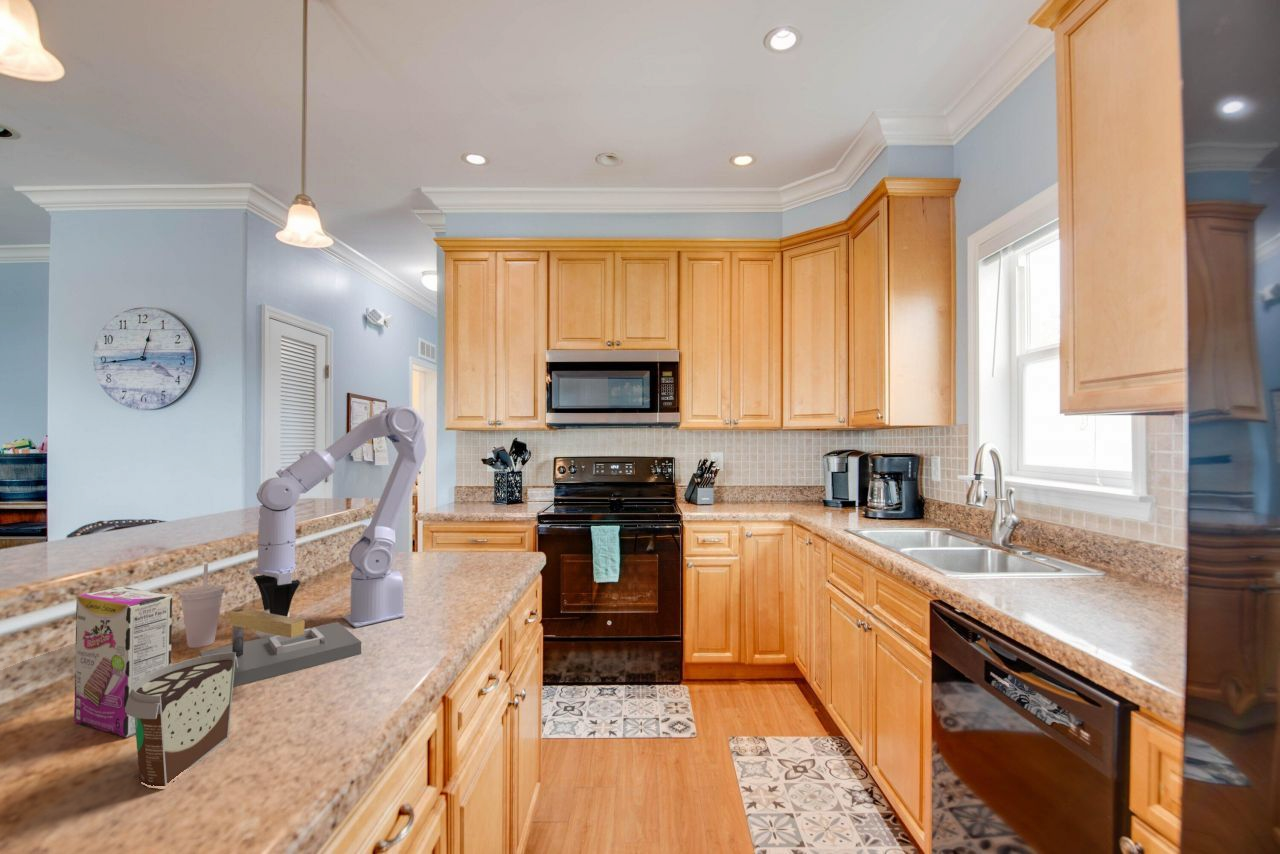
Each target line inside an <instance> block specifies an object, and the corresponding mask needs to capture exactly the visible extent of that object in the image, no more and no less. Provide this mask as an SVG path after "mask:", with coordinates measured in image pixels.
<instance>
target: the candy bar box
mask: <svg viewBox="0 0 1280 854" xmlns="http://www.w3.org/2000/svg"><path fill="white" fill-rule="evenodd" d="M75 598H76V608H75V610H76V613H75V615H76V616H75V666H74V668H75V669H74V672H75V673H74V675H75V677H74V679H75V680H74V708H73V709H74V710H73V711H74V712H73V722H74V723H77V724H80V725H84V726H87V727H90V728H93V729H97V730H100V731H102V732H103V731H104V732H107V733H109V734H113V735H117V736H120V737H123V738H130V737H133V736H136V730H135V718H134V717H132V716H130V715H128V714H127V713H126V712H125V707H126V704H127V700H128V697H129V694H130V692H131V690H132V689H133V687H134V685H135V683H136V682H137V681H138V680H140V679H141V678H143V677H144V676H146V675H148V674H150V673H152V672H154V671H156V670H158V669H161V668H163V667H166V666H169V665H172V629H173V628H172V627H173V625H172V624H173V623H172V622H173V620H172V618H173V594H168V593H164V592H157V591H151V590H150V591H149V590H143V589H138V588H134V587H133V588H131V587H125V586H117V587H113V588H111V587H110V588H108V589H101V590H97V591H94V592H86V593H84V594H80V595H76V597H75Z"/></svg>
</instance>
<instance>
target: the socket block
mask: <svg viewBox="0 0 1280 854" xmlns="http://www.w3.org/2000/svg"><path fill="white" fill-rule="evenodd" d="M220 653H232V644H229V645H224V646H221V647H220V646H219V647H214V648H211V649H207V650H205V649H204V650H201V651H200V654H199V657H202V656H207V655H213V654H220ZM361 654H362V641H361V640H360V639H359V638H357V636H356V635H354V634H353V633H351V632H350V631H349V630H348V629H347V628H346V627H345V626H344V625H342V624H341V623H340V622H339V621H336V622H330V623H327V624H321V625H317V626H313V627H308V628H304V634H301V635H298V636H295V637H293V638H289V637H284V636H279V635H275V636H270V637H265V638H261V639H260V638H256V639H252V640H247V641H243V655H241V656H237V661H238V668H235V670H234V681H233V688H234V687H240V686H243V685H247V684H250V683H254V682H258V681H259V682H260V681H262V680H266V679H270V678H274V677H277V676H280V675H285V674H289V673H292V672H296V671H300V670H303V669H304V670H305V669H308V668H312V667H316V666H320V665H324V664H327V663H330V662H335V661H338V660H342V659H346V658H349V657H354V656H358V655H361Z"/></svg>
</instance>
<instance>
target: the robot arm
mask: <svg viewBox="0 0 1280 854" xmlns="http://www.w3.org/2000/svg"><path fill="white" fill-rule="evenodd" d="M424 426H425V421H424V420H423V418H422V417H421V416H420V414H419V412H418V411H417V409H415V408H414V407H411V406H409V405H406V404H405V405H404V404H403V405H397V406H396V407H395V406H394V407H387V408H385V409H383V410H381V411H380V412H379V413H376V414H373V415H371V416H370V417H368V418H366V419H365V420H364V421H362V422H360V423H359V424H358V425H356V426H355V427H353V428H352V429H351V430H349V431H348V432H347V433H345V434H344V435H343V436H341V437H340V438H339V439H338V440H336V441H335V442H334V443H331V445H330V446H328V447H327V448H326V449H324V450H319V449H312V450H311V451H309V452H308V451H303V452H301V453H300V454H299V457H300V458H299V459H297V460H296V461H294V462H293V463H292V464H290V465H289V466H287V467H286V468H284V469H282V468H281V469H278V470H277V471H276V472H275V474H276V475H277V477H271V478H268V479H265V481H263V483H261V484H260V485H259V488H258V490H257V492H256V498H257V500H258V502H259V503H260V508H259V511H258V512H259V513H258V514H259V518H258V526H257V528H258V530H257V531H258V533H257V567H254V568H250V569H249V575H255V576H253V580H254V582H255V583H256V584H257V587H258V590H259V592H260V597H261V601H262V607H263V611H264V610H267V609H269V610H270V613H271V614H276V615H281V616H286V617H287V616H288V613H289V614H290V610H289V609H290V608H291V605H292V600H293V597H294V595H295V593H296V591H297V589H298V588H299V586H300V584H301V580H299V579H294V580H292V579H293V577H292V575H293V573H294V572H295V571H296V570H297V563H296V539H297V538H296V536H297V535H296V527H297V526H296V525H297V517H296V504H297V503H298V501H299V499H300V495H301V494H306V493H307V492H308V491H311V490H312V489H313V488H314V487H316V486H318V484H320V483H321V482H323V481H324V480H325V479H327V478H328V477H330V476H331V475H332V474H334V473H335V470H336V464H337V462H339V461H340V460H342V459H344V458H345V457H346V456H347V455H350V454H351V453H352V452H354V451H356V450H357V449H358V448H359V447H360V448H361V446H362V445H364V444H366V443H367V442H368V441H370V440H372V439H376V438H383V437H386V438H387V439H389V441H390V442H391V443H392V444H393V445H392V446H394V449H396V452H397V457H396V460H395V462H394V465H393V467H392V469H391V472H390V474H389V477H388V479H387V482H386V484H385V487H384V489H383V491H382V494H381V497H380V498H379V501H378V502H377V503H378V504H377V506H376V508H375V511H374V513H373V516H372V518H371V520H370V523H369V524H368V526H367V527H366V528H365V530H363V531H362V534H361V536H360V538H359V539H358V541H357V542H356V543H354V544H353V545H352V547H351V548H350V550H349V552H348V553H349V554H348V558H349V562H350V564H351V565H352V566H353V567H354V568H353V571H352V572H351V574H350V605H349V608H350V612H349V614H346V615H343V618H342V619H344V620H345V621H347V622H348V623H349V624H350V625H352V627H354V628H358V627H364V626H367V625H373V624H377V623H381V622H385V621H389V620H394V619H399V618H403V617H405V616H406V615H405V613H404V597H405V596H404V595H405V594H404V592H405V591H404V589H405V588H404V586H405V585H404V579H403V575H402V573H401V572H400V571H399V570H393V571H392V570H391V568H392V566H393V563H394V560H395V559H394V558H395V557H394V549H395V546H396V541H397V540H396V531H397V528H398V526H399V523H400V520H401V518H402V516H403V513H404V511H405V507H406V505H407V503H408V500H409V498H410V495H411V493H412V490H413V488H414V485H415V482H416V480H417V477H418V476H419V473H420V470H421V468H422V465H423V462H424V459H425V458H426V457H425V456H426V454H427V447H426V446H427V445H426V440H425V432H424Z"/></svg>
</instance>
